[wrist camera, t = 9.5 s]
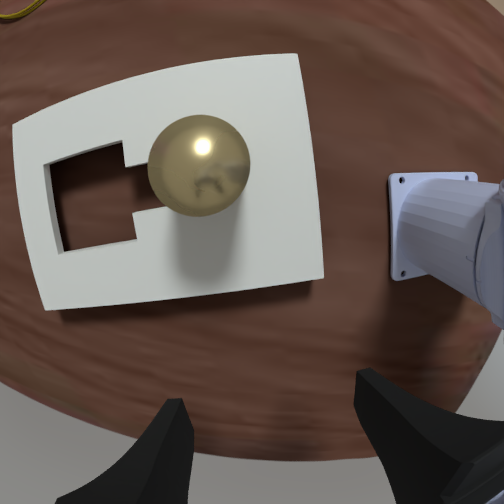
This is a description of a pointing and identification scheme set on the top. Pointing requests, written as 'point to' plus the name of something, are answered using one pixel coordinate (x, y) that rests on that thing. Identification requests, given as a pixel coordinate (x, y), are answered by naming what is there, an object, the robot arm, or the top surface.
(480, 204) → the robot arm
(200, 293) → the keyhole plate
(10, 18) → the yellow coiled cable
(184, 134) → the gold cylindrical piece
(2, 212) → the top surface
